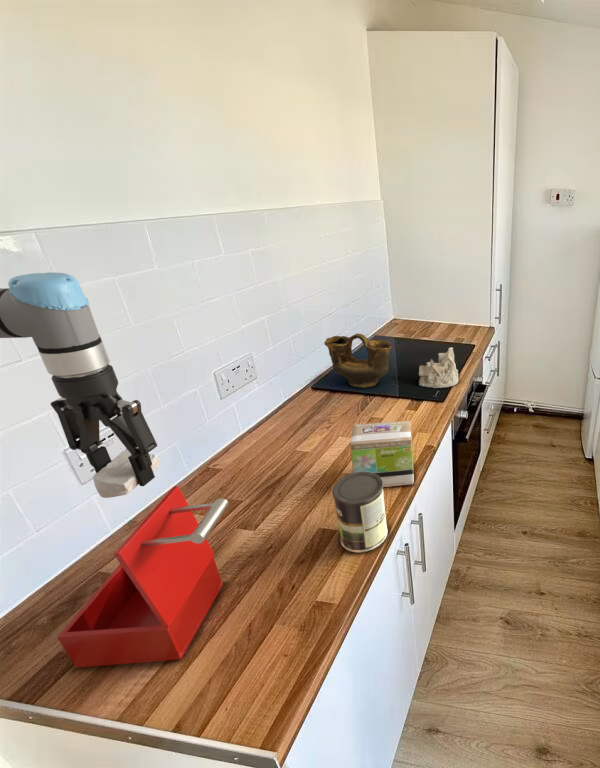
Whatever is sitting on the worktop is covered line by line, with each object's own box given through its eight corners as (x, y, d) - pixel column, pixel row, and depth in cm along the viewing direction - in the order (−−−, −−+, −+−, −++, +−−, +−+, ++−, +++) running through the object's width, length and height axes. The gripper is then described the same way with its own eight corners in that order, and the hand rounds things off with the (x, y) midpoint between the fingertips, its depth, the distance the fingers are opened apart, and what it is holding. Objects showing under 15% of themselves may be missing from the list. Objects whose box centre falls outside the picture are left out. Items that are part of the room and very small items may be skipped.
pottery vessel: (324, 385, 163) (317, 336, 154) (337, 374, 173) (331, 326, 164) (389, 391, 162) (385, 341, 153) (398, 379, 171) (395, 331, 163)
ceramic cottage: (460, 371, 181) (458, 337, 174) (456, 390, 166) (453, 354, 159) (423, 371, 181) (419, 338, 174) (416, 390, 166) (411, 355, 159)
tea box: (355, 492, 111) (348, 444, 104) (357, 468, 119) (351, 423, 113) (414, 485, 114) (412, 438, 108) (413, 462, 123) (410, 418, 117)
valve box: (76, 668, 70) (56, 637, 66) (136, 590, 83) (122, 561, 79) (181, 659, 72) (167, 629, 68) (223, 584, 85) (213, 556, 81)
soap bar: (129, 509, 80) (120, 493, 76) (90, 502, 78) (79, 485, 75) (163, 465, 87) (157, 448, 83) (128, 457, 86) (120, 440, 82)
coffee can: (341, 558, 92) (332, 507, 86) (340, 524, 101) (332, 476, 94) (390, 546, 95) (385, 497, 89) (385, 515, 104) (380, 467, 98)
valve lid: (113, 554, 61) (185, 544, 61) (173, 486, 74) (232, 479, 74) (163, 628, 68) (227, 618, 69) (210, 554, 81) (264, 547, 82)
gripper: (157, 364, 75) (193, 471, 85) (46, 357, 75) (95, 464, 85) (120, 382, 68) (164, 497, 78) (-2, 375, 68) (58, 489, 78)
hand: (128, 480), depth 81 cm, fingers closed on soap bar, 7 cm apart
